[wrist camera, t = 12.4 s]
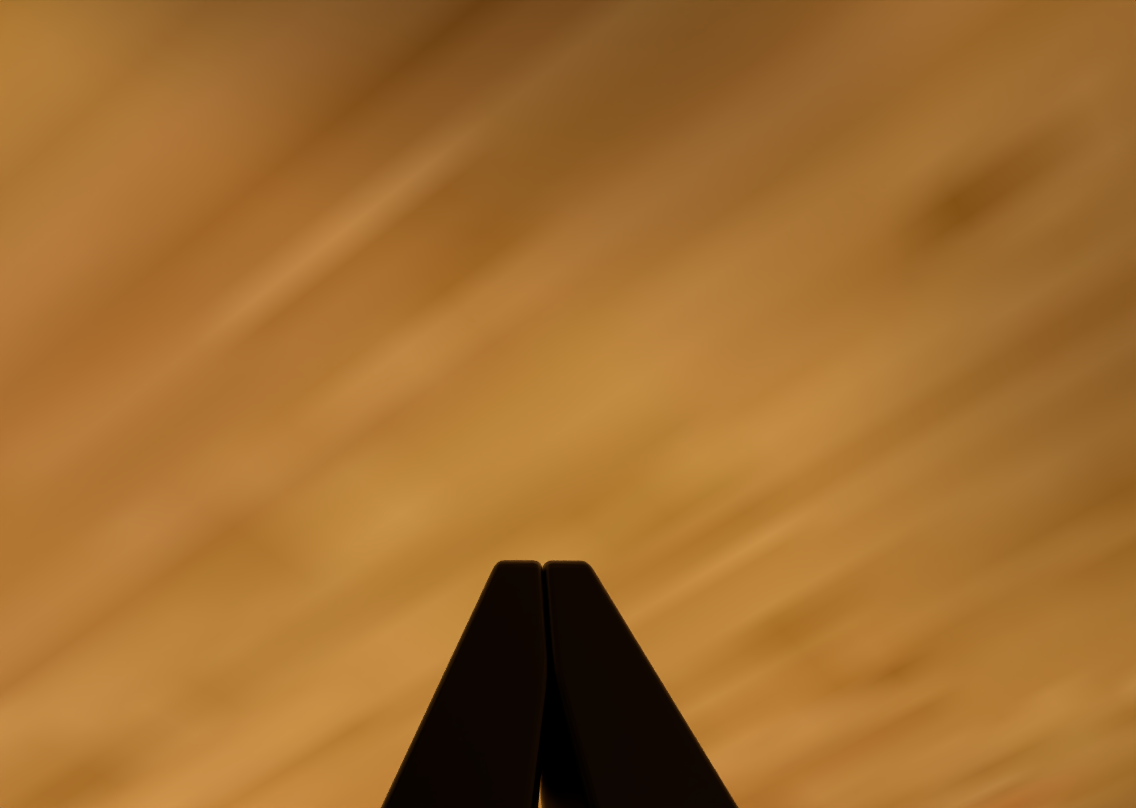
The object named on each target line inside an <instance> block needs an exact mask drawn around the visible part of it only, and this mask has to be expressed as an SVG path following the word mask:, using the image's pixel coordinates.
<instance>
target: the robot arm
mask: <svg viewBox="0 0 1136 808" xmlns="http://www.w3.org/2000/svg"><path fill="white" fill-rule="evenodd" d="M539 791H540V793H541V805H542V808H738V806H737V805H736V803H735V802H734V800H733V798H732V797H731V795H730V793H729V792H728V790H727V788H726V787H725V785H724V783H723V782H722V780H721V779H720V777H719V775H718V774H717V772H716V770H715V769H714V767H713V765H712V764H711V762H710V760H709V759H708V757H707V756H706V754H705V752H704V751H703V749H702V747H701V746H700V744H699V742H698V741H697V739H696V737H695V736H694V734H693V733H692V731H691V729H690V728H689V726H688V724H687V723H686V721H685V719H684V718H683V716H682V714H681V713H680V711H679V710H678V708H677V706H676V705H675V703H674V701H673V700H672V698H671V696H670V695H669V693H668V691H667V690H666V688H665V687H664V685H663V683H662V682H661V680H660V678H659V677H658V675H657V673H656V672H655V670H654V668H653V667H652V665H651V664H650V662H649V660H648V659H647V657H646V655H645V654H644V652H643V650H642V649H641V647H640V645H639V644H638V642H637V641H636V639H635V637H634V636H633V634H632V632H631V631H630V629H629V627H628V626H627V624H626V622H625V621H624V619H623V618H622V616H621V614H620V613H619V611H618V609H617V608H616V606H615V604H614V603H613V601H612V599H611V598H610V596H609V595H608V593H607V591H606V590H605V588H604V586H603V585H602V583H601V581H600V580H599V578H598V576H597V575H596V573H595V572H594V570H593V569H592V567H591V566H590V565H589V564H588V563H586V562H585V561H548V562H546V563H545V564H544V566H543V568H542V566H541V564H540V563H539V562H537V561H534V560H503V561H500V562H498V563H497V564H496V565H495V566H494V568H493V570H492V572H491V574H490V576H489V578H488V580H487V582H486V585H485V587H484V589H483V591H482V593H481V595H480V597H479V600H478V602H477V604H476V606H475V608H474V610H473V612H472V615H471V617H470V619H469V621H468V623H467V625H466V627H465V629H464V632H463V634H462V636H461V638H460V640H459V642H458V644H457V647H456V649H455V651H454V653H453V655H452V657H451V659H450V661H449V664H448V666H447V668H446V670H445V672H444V674H443V676H442V679H441V681H440V683H439V685H438V687H437V689H436V691H435V694H434V696H433V698H432V700H431V702H430V704H429V706H428V708H427V711H426V713H425V715H424V717H423V719H422V721H421V723H420V726H419V728H418V730H417V732H416V734H415V736H414V738H413V741H412V743H411V745H410V747H409V749H408V751H407V753H406V755H405V758H404V760H403V762H402V764H401V766H400V768H399V770H398V773H397V775H396V777H395V779H394V781H393V783H392V785H391V787H390V790H389V792H388V794H387V796H386V798H385V800H384V802H383V805H382V807H381V808H538V802H539Z"/></svg>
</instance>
